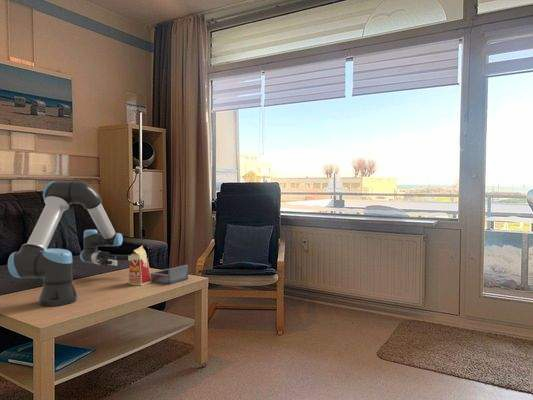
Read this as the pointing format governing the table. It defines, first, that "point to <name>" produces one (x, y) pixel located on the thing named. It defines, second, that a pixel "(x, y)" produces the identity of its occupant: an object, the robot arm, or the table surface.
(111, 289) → the table surface
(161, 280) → the rack bay
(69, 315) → the table surface
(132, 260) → the milk carton
